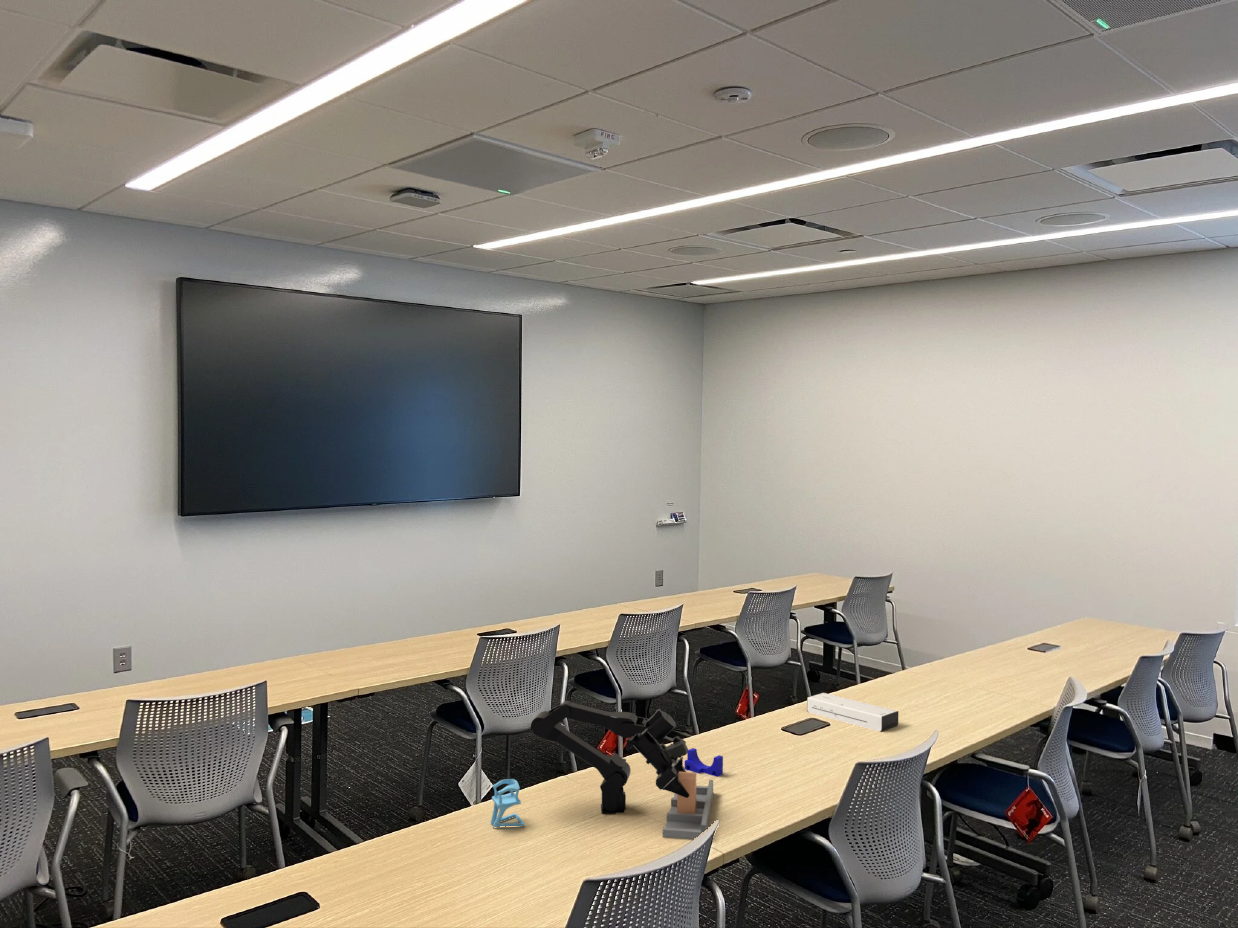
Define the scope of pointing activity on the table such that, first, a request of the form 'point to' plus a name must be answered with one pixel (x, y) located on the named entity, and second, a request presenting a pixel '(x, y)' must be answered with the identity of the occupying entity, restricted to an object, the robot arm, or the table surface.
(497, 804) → the chair
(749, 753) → the table surface
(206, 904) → the table surface
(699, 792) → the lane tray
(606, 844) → the table surface
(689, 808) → the terracotta block
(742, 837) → the table surface
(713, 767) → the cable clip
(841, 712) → the laminator
